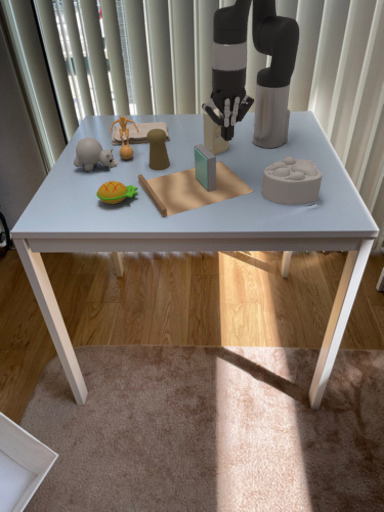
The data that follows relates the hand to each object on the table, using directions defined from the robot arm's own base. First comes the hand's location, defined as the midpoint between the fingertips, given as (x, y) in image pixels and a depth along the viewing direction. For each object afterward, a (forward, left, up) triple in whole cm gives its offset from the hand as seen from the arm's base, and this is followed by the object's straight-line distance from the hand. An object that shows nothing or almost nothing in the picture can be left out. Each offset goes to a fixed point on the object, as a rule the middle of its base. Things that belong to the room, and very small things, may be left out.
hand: (227, 139), depth 100 cm
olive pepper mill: (+13, -15, -12) cm, 23 cm away
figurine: (+19, -26, -12) cm, 34 cm away
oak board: (+9, 0, -12) cm, 15 cm away
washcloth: (+11, -38, -12) cm, 41 cm away
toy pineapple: (+28, -4, -12) cm, 31 cm away
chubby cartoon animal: (+29, -23, -12) cm, 39 cm away
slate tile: (+6, 0, -11) cm, 12 cm away
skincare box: (-5, -16, -12) cm, 20 cm away
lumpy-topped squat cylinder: (-10, +13, -12) cm, 20 cm away
